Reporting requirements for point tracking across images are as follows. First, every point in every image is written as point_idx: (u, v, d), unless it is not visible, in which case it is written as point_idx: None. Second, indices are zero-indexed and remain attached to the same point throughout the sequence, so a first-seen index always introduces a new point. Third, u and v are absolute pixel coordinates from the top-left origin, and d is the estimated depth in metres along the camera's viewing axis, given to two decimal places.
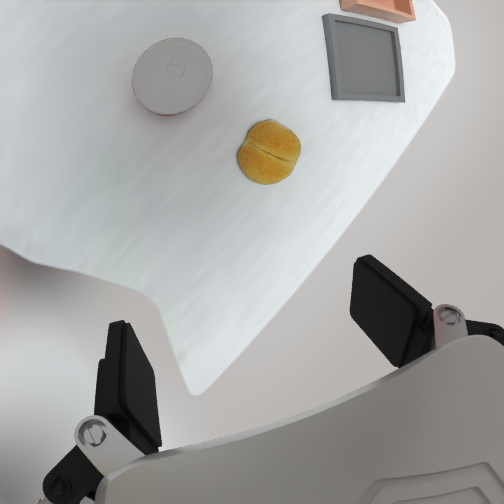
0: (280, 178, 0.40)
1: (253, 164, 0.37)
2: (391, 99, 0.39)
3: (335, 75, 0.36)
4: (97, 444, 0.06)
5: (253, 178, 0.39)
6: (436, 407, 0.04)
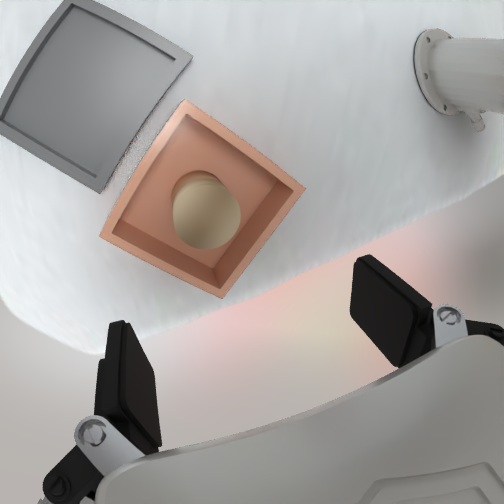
0: None
1: None
2: (5, 94, 0.15)
3: (100, 4, 0.15)
4: (97, 444, 0.06)
5: None
6: (436, 407, 0.04)
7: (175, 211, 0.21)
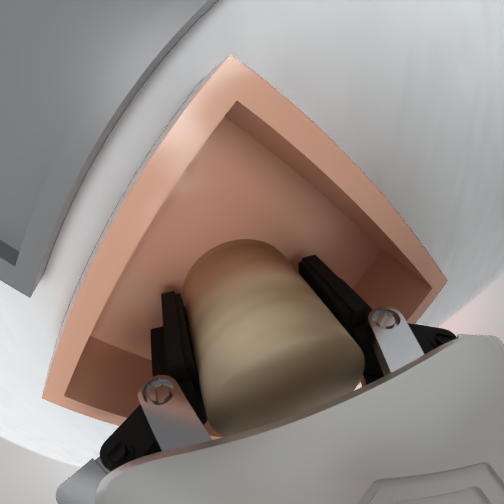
0: None
1: None
2: None
3: None
4: (159, 403, 0.07)
5: None
6: (436, 407, 0.04)
7: (211, 401, 0.07)
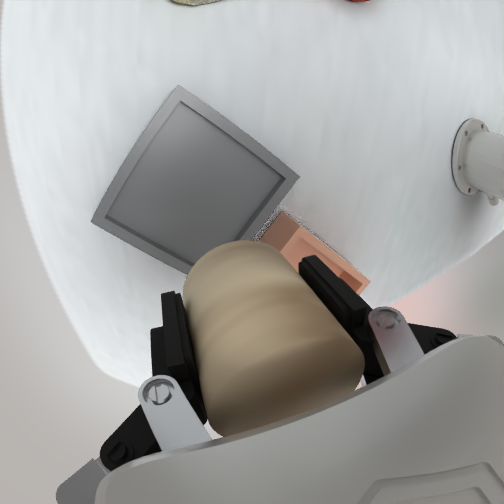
0: None
1: None
2: (110, 192, 0.23)
3: None
4: (159, 403, 0.07)
5: None
6: (436, 407, 0.04)
7: (212, 402, 0.07)
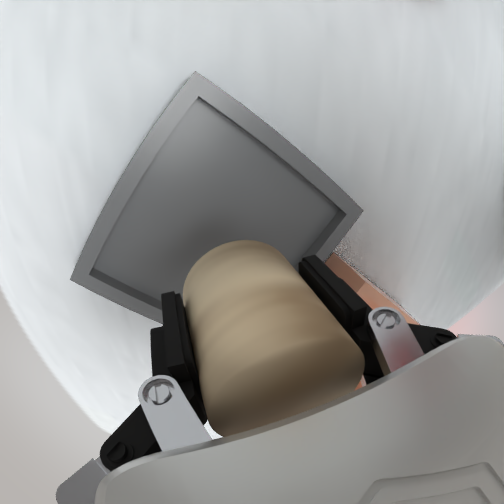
0: None
1: None
2: (94, 239, 0.15)
3: (249, 111, 0.15)
4: (159, 403, 0.07)
5: None
6: (436, 407, 0.04)
7: (212, 402, 0.07)
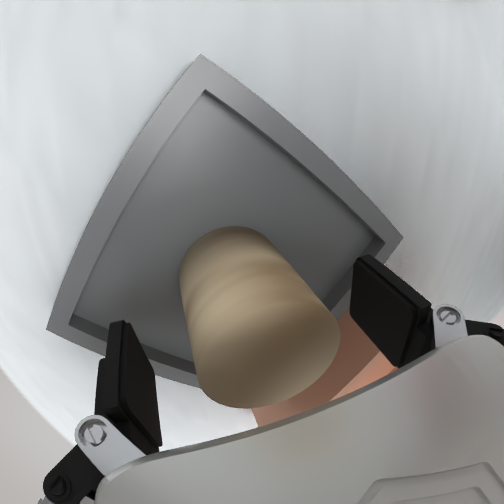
0: None
1: None
2: (69, 284, 0.11)
3: None
4: (97, 444, 0.06)
5: None
6: (436, 407, 0.04)
7: (201, 361, 0.08)
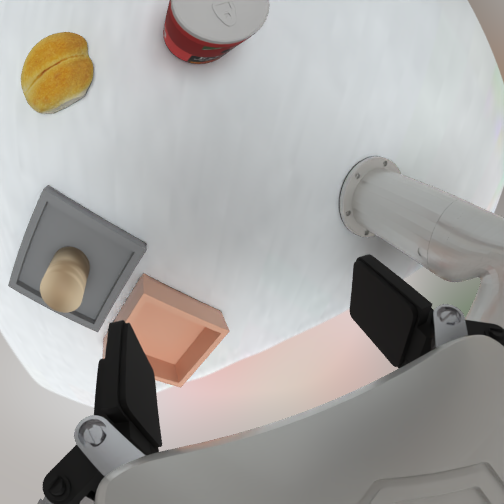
0: (26, 62, 0.18)
1: (63, 39, 0.18)
2: (16, 267, 0.27)
3: (70, 205, 0.27)
4: (97, 444, 0.06)
5: (51, 35, 0.18)
6: (436, 407, 0.04)
7: (40, 288, 0.24)
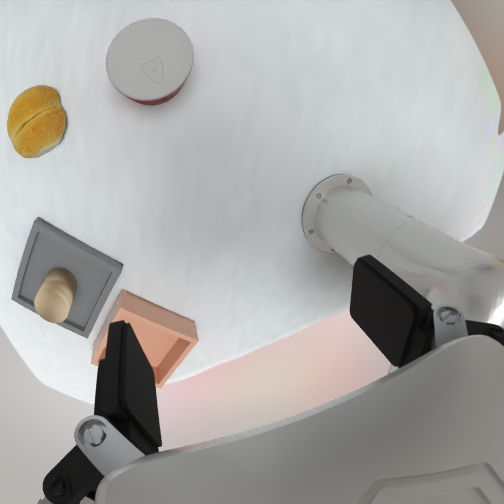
0: (9, 116, 0.23)
1: (36, 95, 0.23)
2: (16, 284, 0.32)
3: (56, 234, 0.32)
4: (97, 444, 0.06)
5: (27, 90, 0.22)
6: (436, 407, 0.04)
7: (34, 304, 0.29)
